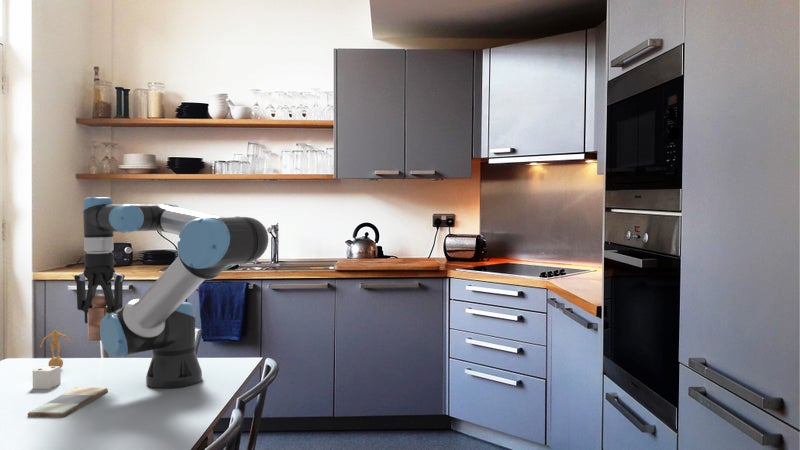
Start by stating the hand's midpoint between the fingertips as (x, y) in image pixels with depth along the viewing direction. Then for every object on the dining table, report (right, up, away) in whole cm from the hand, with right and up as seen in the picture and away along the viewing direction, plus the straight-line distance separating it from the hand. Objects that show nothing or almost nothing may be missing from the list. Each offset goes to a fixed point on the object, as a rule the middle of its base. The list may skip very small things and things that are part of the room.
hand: (100, 334), depth 182 cm
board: (0, -15, -17) cm, 22 cm away
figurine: (-22, -14, +17) cm, 31 cm away
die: (-15, -14, -1) cm, 20 cm away
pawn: (0, -1, 0) cm, 1 cm away
